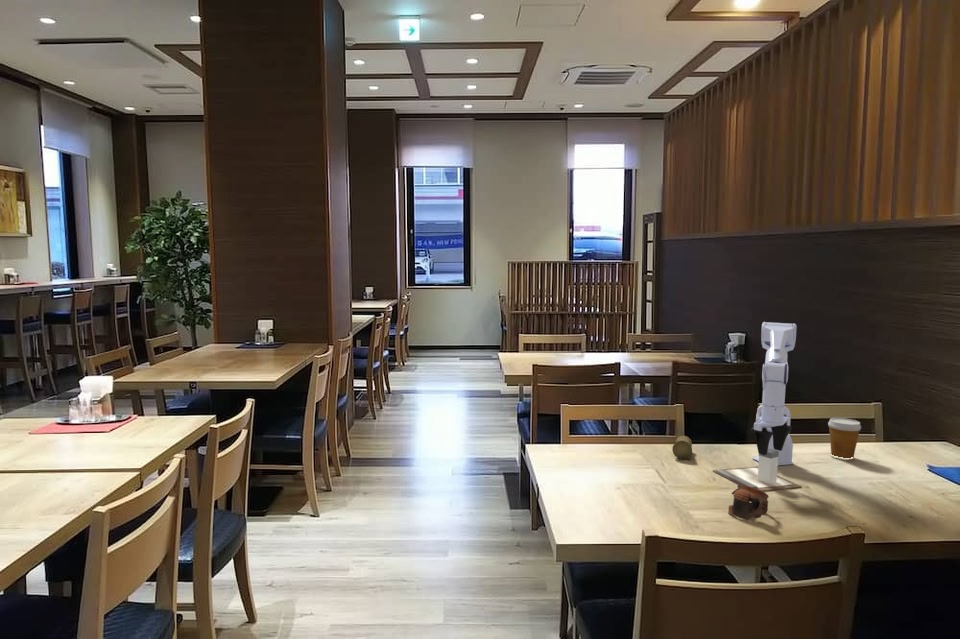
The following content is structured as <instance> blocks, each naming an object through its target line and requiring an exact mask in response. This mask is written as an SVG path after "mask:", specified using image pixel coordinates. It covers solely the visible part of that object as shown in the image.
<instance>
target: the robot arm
mask: <svg viewBox="0 0 960 639" xmlns="http://www.w3.org/2000/svg"><path fill="white" fill-rule="evenodd" d="M760 335H761V336H760V338H761V339H760V340H761V345H762V346H761V347H762V349H765V350H766V353H765V361H764V363H763V364H762V371H761V372H762V373H761V379H762V398H761V400H762V402H761V404H760V405H759V406H758V408H756V409H757V410H756V415H755V416H756V417H755V422H753V426H752V427H751V429H750V430H751V431H750V432H751V433H752V435H753V438H754V440H755V444H756V448H757V452H758V456H752V457H751V459H752V460H755V461H757V462H758V463H759V454H762V455H766V454H767V451H768V448H769V449H773V450H777V451H779V456H778V466H785V465H786V466H787V465H794V462H793V451H794V450H793V448H794V443H793V440H792V437H791V436H790V435H789V434H790V433H791V431H792V429H793V428H792V426H791V411H790V408H788V407H787V406H785V402H786V401H785V399H786V386H787V383H788V380H789V363H788V357H789V356H788V352H790V351H793V350H794V348H795V346H796V341H797V340H796V339H797V324H796V323H786V322H785V323H784V322H783V323H782V322H770V321H768V322H766V321H763V322H762V324H761V334H760Z"/></svg>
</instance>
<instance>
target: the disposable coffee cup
mask: <svg viewBox="0 0 960 639" xmlns="http://www.w3.org/2000/svg"><path fill="white" fill-rule="evenodd" d="M827 425H828V428H829V441H830V444H829V445H830V455H831V454H832V455H834V456H838V457H843V458H851V457H853V458H854V457H855V454H856V447H857V443H858V439H859V434H860V431H861V429H862V426H861V422H860V421H858V420H856V419H850V418H844V417H832V418H830V419H829V421H828V422H827Z"/></svg>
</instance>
